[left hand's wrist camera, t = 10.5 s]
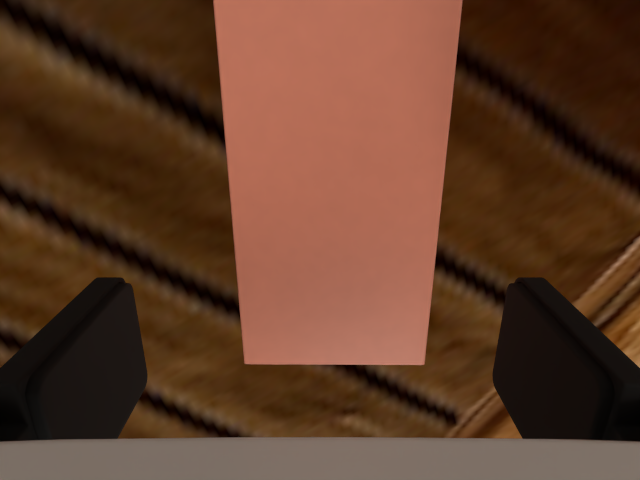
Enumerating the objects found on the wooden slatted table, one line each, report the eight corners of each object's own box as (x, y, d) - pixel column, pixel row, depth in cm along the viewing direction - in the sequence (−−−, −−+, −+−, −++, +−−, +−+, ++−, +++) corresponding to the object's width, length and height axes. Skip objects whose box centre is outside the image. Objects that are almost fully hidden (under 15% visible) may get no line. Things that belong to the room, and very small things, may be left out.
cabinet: (248, -227, 16) (168, -518, 8) (420, -229, 16) (518, -527, 8) (272, 257, 24) (244, 364, 16) (390, 257, 24) (424, 365, 16)
